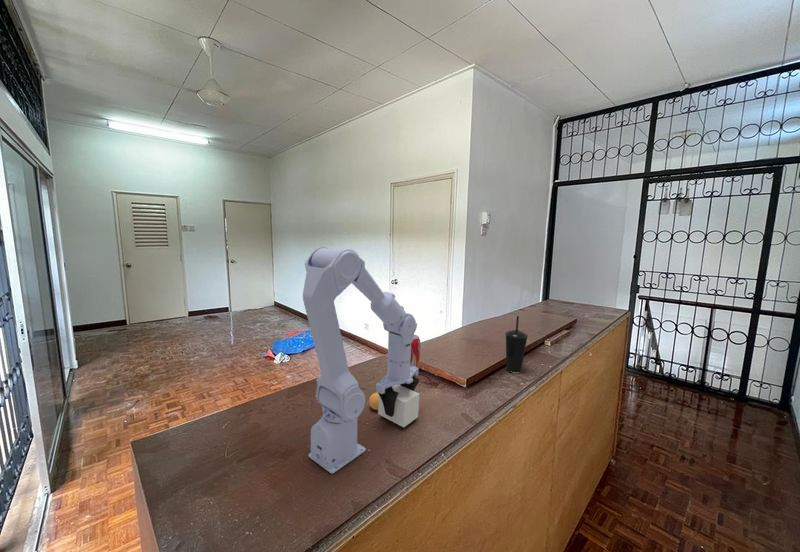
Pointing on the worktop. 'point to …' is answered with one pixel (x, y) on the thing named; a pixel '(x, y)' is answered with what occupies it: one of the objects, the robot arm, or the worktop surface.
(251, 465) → the worktop surface
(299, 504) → the worktop surface
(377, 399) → the ball
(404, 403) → the white plastic cube
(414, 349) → the beverage can
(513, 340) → the drinking cup
